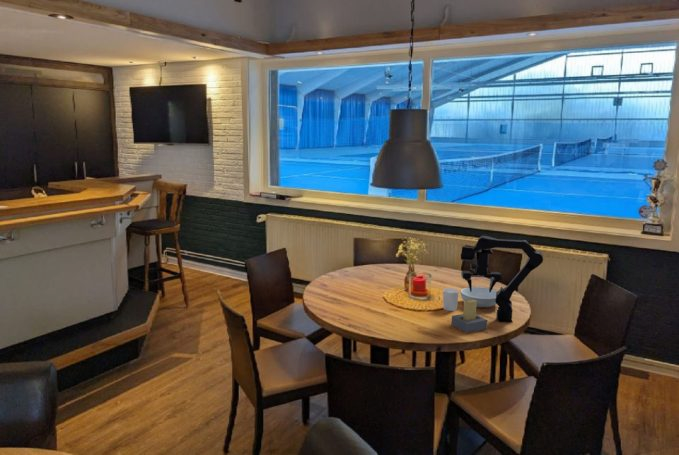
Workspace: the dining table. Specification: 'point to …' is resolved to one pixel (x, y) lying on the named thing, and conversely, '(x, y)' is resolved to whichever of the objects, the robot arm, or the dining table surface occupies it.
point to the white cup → (450, 299)
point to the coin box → (469, 323)
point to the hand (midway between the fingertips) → (480, 292)
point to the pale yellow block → (469, 310)
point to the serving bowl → (480, 296)
